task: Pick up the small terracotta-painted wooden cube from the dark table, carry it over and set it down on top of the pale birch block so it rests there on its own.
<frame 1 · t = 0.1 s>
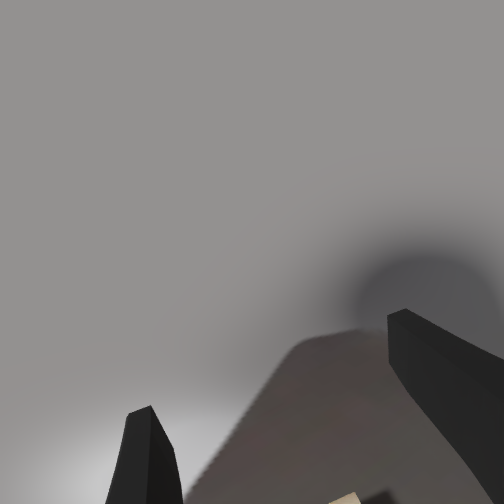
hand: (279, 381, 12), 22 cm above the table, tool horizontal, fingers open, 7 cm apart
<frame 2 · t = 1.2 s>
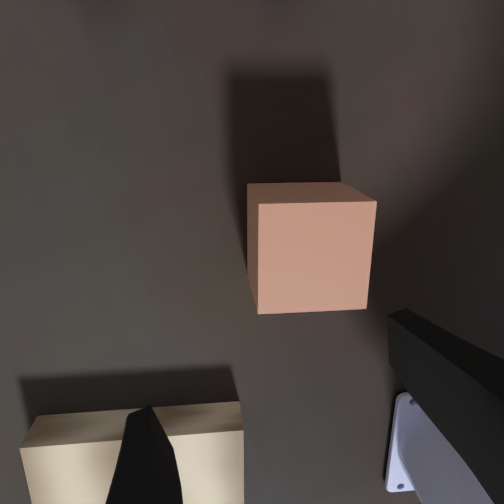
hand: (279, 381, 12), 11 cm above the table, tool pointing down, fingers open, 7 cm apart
terracotta cube: (292, 228, 23), on the table
birch block: (149, 478, 28), on the table
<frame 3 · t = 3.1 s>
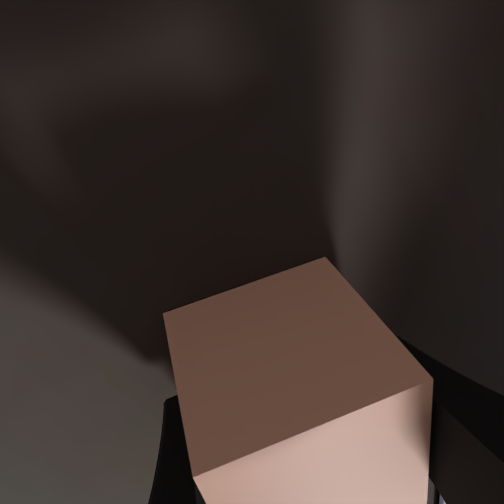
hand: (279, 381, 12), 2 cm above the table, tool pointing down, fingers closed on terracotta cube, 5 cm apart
terracotta cube: (262, 344, 14), on the table, touching gripper
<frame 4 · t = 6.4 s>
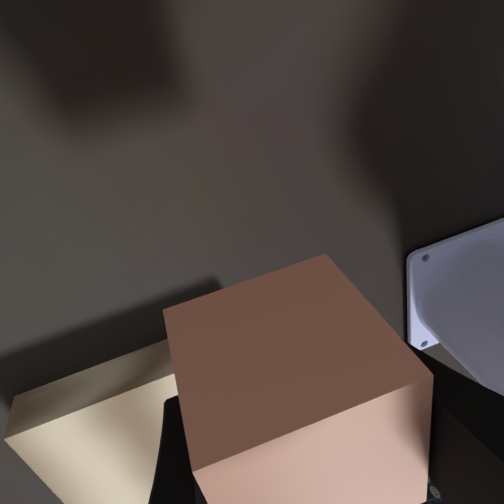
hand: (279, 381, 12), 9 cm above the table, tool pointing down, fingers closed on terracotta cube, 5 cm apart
mobile phone: (379, 464, 36), on the table
terracotta cube: (262, 341, 14), point 8 cm above the table, touching gripper
birch block: (166, 414, 26), on the table
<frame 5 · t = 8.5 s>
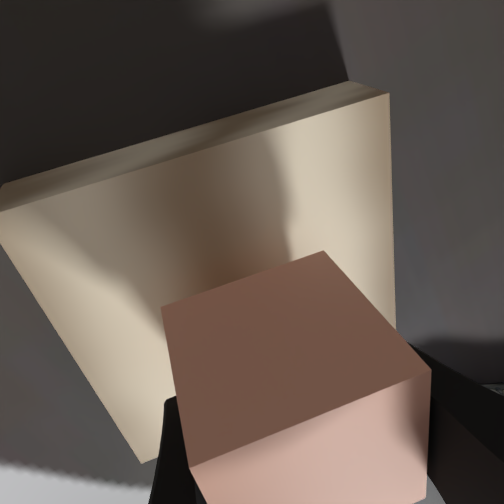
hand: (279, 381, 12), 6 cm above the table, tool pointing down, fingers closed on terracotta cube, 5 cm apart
terracotta cube: (260, 339, 13), point 4 cm above the table, touching gripper
birch block: (225, 265, 18), on the table
when the fingers open (6 cm above the table, at t = 9.3 s): terracotta cube drops 2 cm, resting on birch block.
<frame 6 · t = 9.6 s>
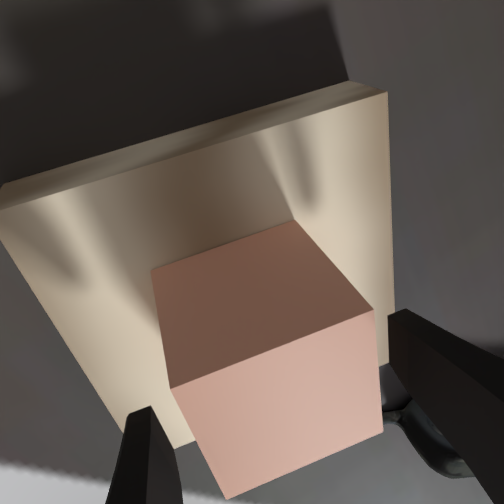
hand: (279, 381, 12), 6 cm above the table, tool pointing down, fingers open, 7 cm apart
mobile phone: (463, 394, 28), on the table
terracotta cube: (241, 301, 15), point 2 cm above the table, touching birch block
birch block: (225, 264, 18), on the table, touching terracotta cube
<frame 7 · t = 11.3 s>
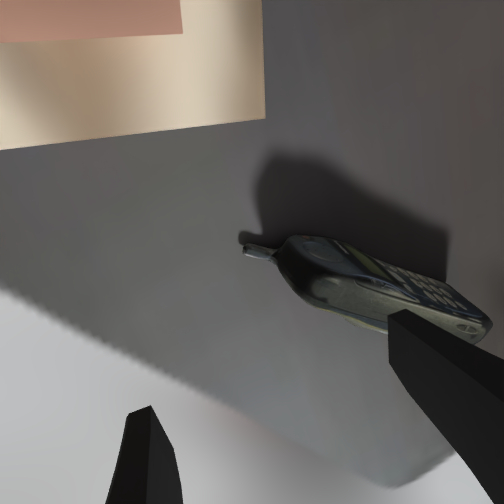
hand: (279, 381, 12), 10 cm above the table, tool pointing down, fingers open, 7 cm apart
mobile phone: (353, 266, 25), on the table
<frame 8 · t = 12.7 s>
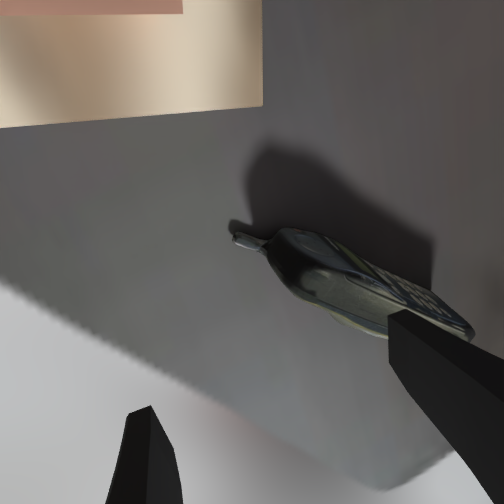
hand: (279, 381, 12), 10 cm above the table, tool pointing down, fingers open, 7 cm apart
mobile phone: (341, 266, 25), on the table
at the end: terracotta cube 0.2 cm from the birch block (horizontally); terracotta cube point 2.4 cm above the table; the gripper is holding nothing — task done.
